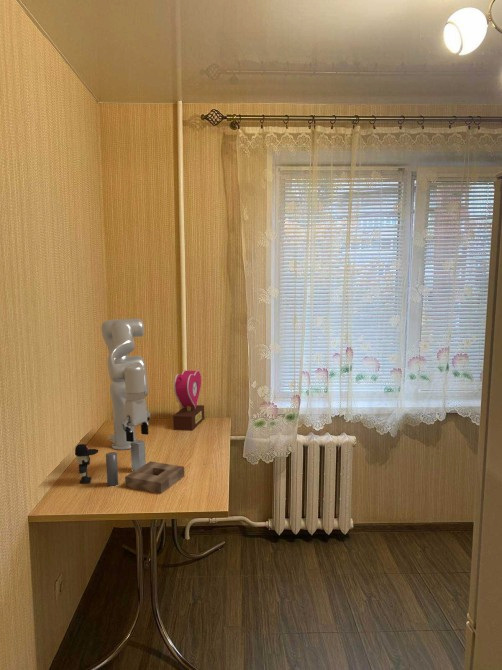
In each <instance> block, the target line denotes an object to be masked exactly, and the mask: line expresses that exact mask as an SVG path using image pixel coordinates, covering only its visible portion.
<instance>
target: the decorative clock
mask: <svg viewBox="0 0 502 670" xmlns="http://www.w3.org/2000/svg"><path fill="white" fill-rule="evenodd" d="M201 387H202V376H201V372H200V370H198V369H197V370H187V369H185V370H183V371H182V373H181V374H180V373H177V374H176V375H175V378H174V385H173V391H174V394H175V398H176V399H177V401H178V403H179V404H180V406H181V409H180V410H179V411H177V412H175V414H173V415H172V417H173V418H172V423H173V429H172V430H173V431H174V430H175V431H189V432H190V431H194V429H195V428H197V427H198V426H199V425H200V424H201V423H202V422H203V421H204V420H205V419H206V418H205V405H204V404H202V405H201V404H199V405H198V402H199V401H198V400H199V396H200V392H201Z"/></svg>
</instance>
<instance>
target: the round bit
mask: <svg viewBox="0 0 502 670" xmlns="http://www.w3.org/2000/svg"><path fill="white" fill-rule="evenodd" d="M117 453H118V452H114V451H112V452H111V451H110V452H108V453H106V454H105V463H106V466H105V467H106V480H107V481H106V483H107V485H108V486H107V487H109V486H114V487H117V486H118V485H119V471H118V454H117ZM116 485H117V486H116Z"/></svg>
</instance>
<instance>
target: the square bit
mask: <svg viewBox="0 0 502 670" xmlns="http://www.w3.org/2000/svg"><path fill="white" fill-rule="evenodd" d="M130 458H131V459H130V460H131V471H132V470H133V471H132V472H134V471H135V470H137V469H138V468H140V467H142V466H143V465H145V464H147V461H146V460H147V459H146V442H145V440H142V439H137V440H135V441H133V442H131V449H130Z"/></svg>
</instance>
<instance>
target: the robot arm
mask: <svg viewBox="0 0 502 670" xmlns="http://www.w3.org/2000/svg"><path fill="white" fill-rule="evenodd" d="M100 327H101V329H100V330H101V334H102V335H101V336H102V338H103V341H104V343H105V345H106V347H107V350H108V357H107V360H106V361H107V363H106V364H107V365H106V366H107V370H108V376H109V378H110V381H112V382H110V386H109V394H110V397H111V404H112V415H113V416H112V417H113V418H112V419H113V434H110V435H109V437H108V440H109V441H112V443H111V448H112V449H114V450H119V451H122V450H123V451H124V450H131V442H133V441H135V440H138V439H137V438H136V426H138V425H140V433H141V435H146V436H148V435H149V424H150V420H151V419H150V418H151V417H150V416H151V411H148V406H147V401H146V397H147V396H148V395H149V382H148V381H149V380H148V374H147V366H146V361H145V359H144V358H143V356H141V355H129V354H131V353H132V352H133V351H134V350H135V347H136V343H135V339H134V338H141V337H143V336H144V334H145V324H144V321H143V320H142V319H140V318H114V319H108V320H104V321H103V322H102V324H101V326H100Z"/></svg>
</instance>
